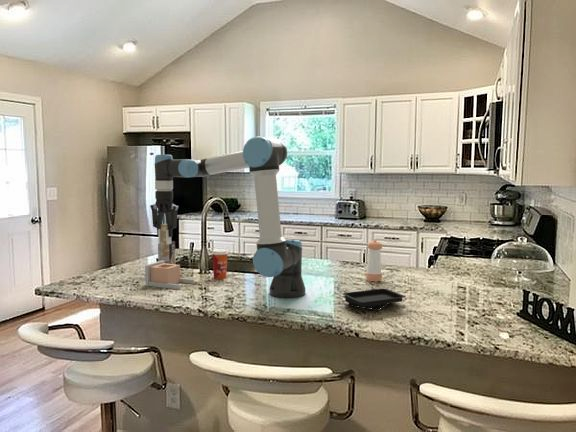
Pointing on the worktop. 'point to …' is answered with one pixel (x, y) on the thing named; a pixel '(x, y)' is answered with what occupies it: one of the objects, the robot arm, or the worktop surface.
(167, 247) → the dowel
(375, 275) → the pepper shaker
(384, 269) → the worktop surface
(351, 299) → the tray
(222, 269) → the paper cup
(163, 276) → the block
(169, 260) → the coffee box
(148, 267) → the mat with wall
